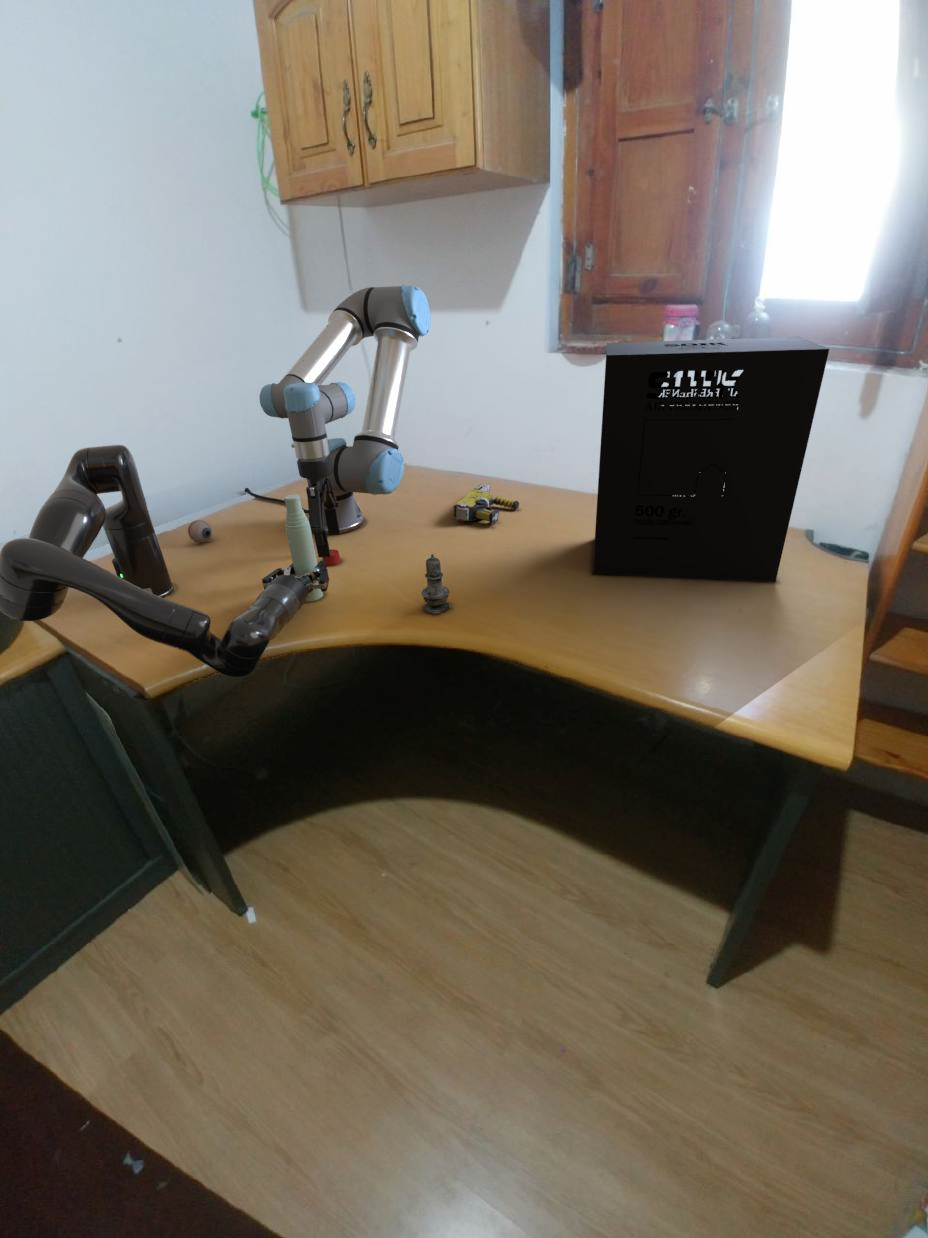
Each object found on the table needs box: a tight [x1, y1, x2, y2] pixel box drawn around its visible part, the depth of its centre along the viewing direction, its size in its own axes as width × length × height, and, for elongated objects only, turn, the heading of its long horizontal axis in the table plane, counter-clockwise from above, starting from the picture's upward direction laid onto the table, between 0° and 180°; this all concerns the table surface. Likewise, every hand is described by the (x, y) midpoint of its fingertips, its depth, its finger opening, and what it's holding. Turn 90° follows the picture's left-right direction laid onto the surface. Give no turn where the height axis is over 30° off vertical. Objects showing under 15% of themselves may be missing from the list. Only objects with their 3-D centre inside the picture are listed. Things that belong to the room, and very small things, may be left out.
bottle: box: [283, 493, 324, 603], centre depth 127 cm, size 5×5×23 cm
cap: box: [321, 548, 341, 567], centre depth 147 cm, size 4×4×3 cm
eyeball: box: [187, 519, 213, 544], centre depth 162 cm, size 6×6×6 cm
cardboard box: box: [592, 336, 830, 583], centre depth 128 cm, size 38×20×45 cm, turn 78°
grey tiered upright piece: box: [420, 553, 451, 614], centre depth 122 cm, size 6×6×12 cm
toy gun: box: [452, 482, 520, 526], centre depth 172 cm, size 5×24×15 cm
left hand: (310, 564), depth 131 cm, fingers closed on bottle, 5 cm apart
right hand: (329, 544), depth 146 cm, fingers open, 13 cm apart
